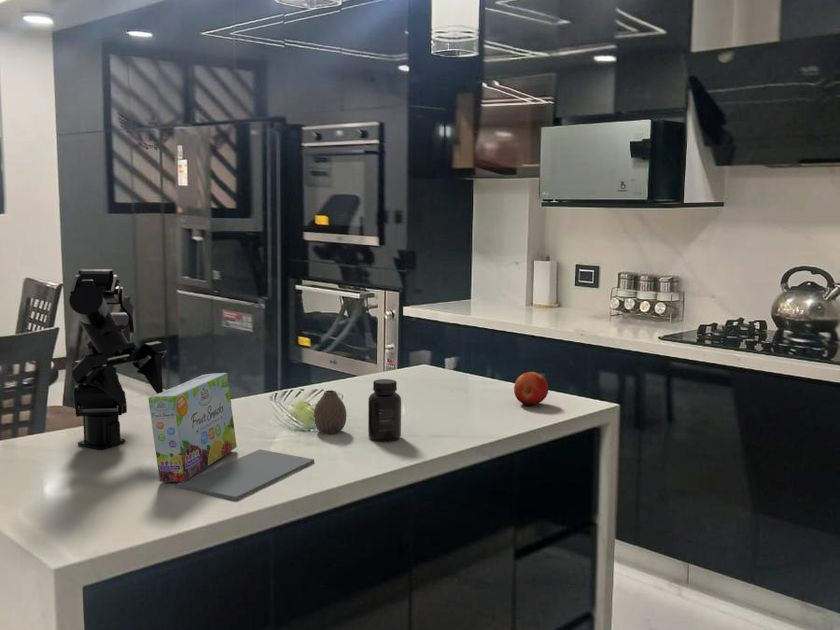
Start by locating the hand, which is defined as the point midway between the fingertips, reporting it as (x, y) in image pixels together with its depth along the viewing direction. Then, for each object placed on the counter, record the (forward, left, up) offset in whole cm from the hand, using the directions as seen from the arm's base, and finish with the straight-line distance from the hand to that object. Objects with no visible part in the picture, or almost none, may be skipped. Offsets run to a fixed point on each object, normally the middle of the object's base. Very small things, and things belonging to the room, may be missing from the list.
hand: (143, 399), depth 157 cm
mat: (+23, +2, -11) cm, 26 cm away
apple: (+50, +77, -11) cm, 93 cm away
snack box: (+13, +1, -11) cm, 17 cm away
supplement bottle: (+33, +34, -11) cm, 49 cm away
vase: (+21, +32, -11) cm, 40 cm away
